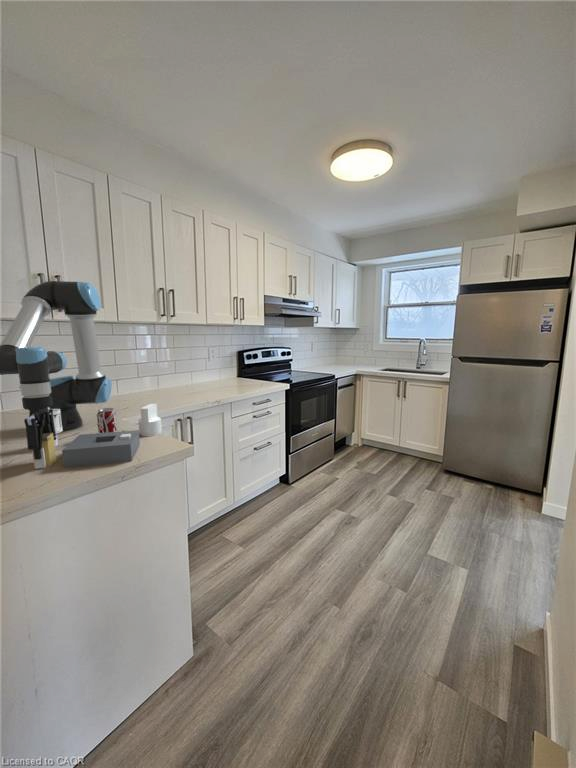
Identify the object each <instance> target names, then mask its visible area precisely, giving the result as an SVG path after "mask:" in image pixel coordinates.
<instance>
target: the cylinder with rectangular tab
mask: <svg viewBox="0 0 576 768" xmlns="http://www.w3.org/2000/svg"><path fill="white" fill-rule="evenodd" d="M140 416H141V417H140V419H138V430H139V436H141V435H143V436H142V437H150V436H149V435H153V436H155V435H154V434H157V433H158V434H157V435H161V434H162V430H163V429H162V418H161V417H159V416H158V404H157V403H149V404H147V405H145V406H143V407H140Z"/></svg>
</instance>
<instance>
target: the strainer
mask: <svg viewBox="0 0 576 768" xmlns="http://www.w3.org/2000/svg"><path fill="white" fill-rule="evenodd" d="M48 409H50V408H49V407H48ZM52 410H53V415H56V414H58V415H57V416H56V417H54V416H53V420H54V426H55V433H56V436H55V437H56V440H54V444H55V447H57V445H58V446H59V444H58V442H59V441H58V434H59V433H62V432H63V429H62V421H61V412H60V409H52Z"/></svg>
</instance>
